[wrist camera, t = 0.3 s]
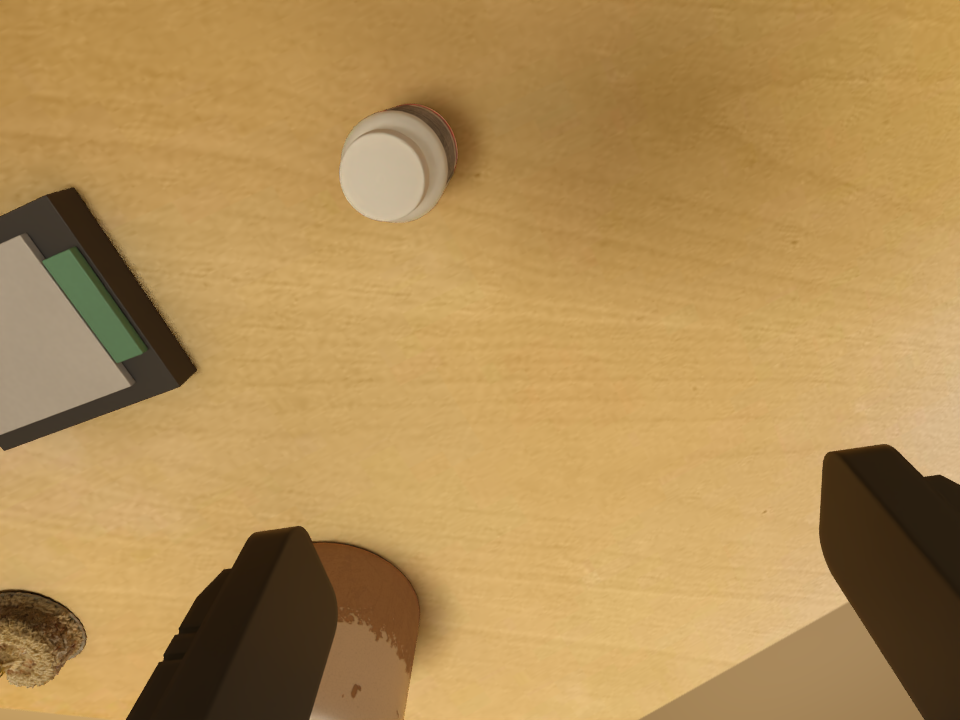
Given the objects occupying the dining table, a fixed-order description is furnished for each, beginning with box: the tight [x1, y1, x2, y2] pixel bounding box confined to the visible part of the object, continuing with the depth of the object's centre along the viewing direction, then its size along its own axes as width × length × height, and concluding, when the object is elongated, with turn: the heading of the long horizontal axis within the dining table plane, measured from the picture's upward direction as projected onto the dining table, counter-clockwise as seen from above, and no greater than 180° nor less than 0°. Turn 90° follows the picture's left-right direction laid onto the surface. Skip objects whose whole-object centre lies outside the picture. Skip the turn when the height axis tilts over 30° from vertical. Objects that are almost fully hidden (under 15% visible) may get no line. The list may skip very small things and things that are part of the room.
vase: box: [309, 543, 420, 720], centre depth 45 cm, size 15×15×17 cm
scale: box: [0, 188, 197, 451], centre depth 40 cm, size 16×14×3 cm
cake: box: [0, 592, 86, 688], centre depth 54 cm, size 10×10×5 cm
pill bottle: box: [339, 104, 458, 223], centre depth 31 cm, size 5×5×10 cm
